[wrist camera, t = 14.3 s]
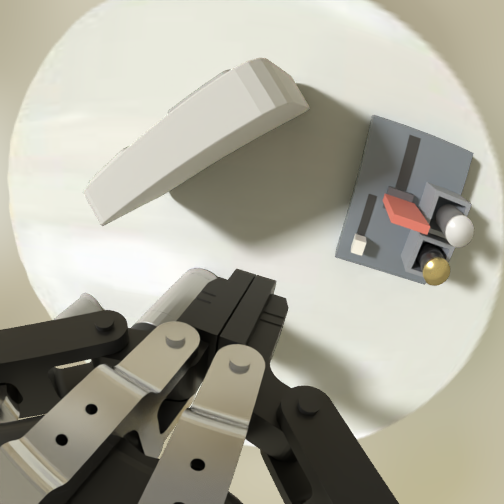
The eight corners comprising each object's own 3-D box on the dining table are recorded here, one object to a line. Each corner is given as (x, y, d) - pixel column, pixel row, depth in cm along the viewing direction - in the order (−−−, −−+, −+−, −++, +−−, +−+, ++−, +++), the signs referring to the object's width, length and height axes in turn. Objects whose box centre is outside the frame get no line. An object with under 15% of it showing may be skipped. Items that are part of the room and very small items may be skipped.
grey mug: (99, 298, 70) (60, 331, 57) (110, 339, 76) (78, 373, 63) (77, 289, 72) (39, 319, 59) (89, 329, 78) (56, 360, 65)
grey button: (454, 234, 32) (466, 251, 28) (430, 226, 33) (441, 241, 28) (464, 208, 30) (478, 222, 26) (440, 199, 31) (453, 211, 27)
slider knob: (361, 249, 42) (361, 255, 40) (351, 246, 42) (351, 252, 40) (365, 236, 41) (366, 242, 39) (355, 233, 41) (355, 239, 39)
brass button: (434, 269, 36) (442, 288, 32) (412, 262, 37) (418, 281, 33) (444, 246, 35) (454, 263, 30) (421, 238, 35) (430, 254, 31)
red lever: (408, 215, 38) (424, 243, 29) (379, 205, 38) (388, 231, 30) (415, 194, 36) (433, 217, 28) (385, 184, 37) (396, 205, 28)
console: (421, 275, 44) (430, 302, 37) (336, 248, 46) (332, 273, 40) (465, 150, 34) (487, 158, 27) (372, 115, 37) (377, 114, 30)
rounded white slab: (285, 64, 37) (245, 33, 22) (312, 109, 39) (289, 101, 23) (144, 157, 50) (68, 182, 34) (165, 194, 52) (94, 231, 36)
